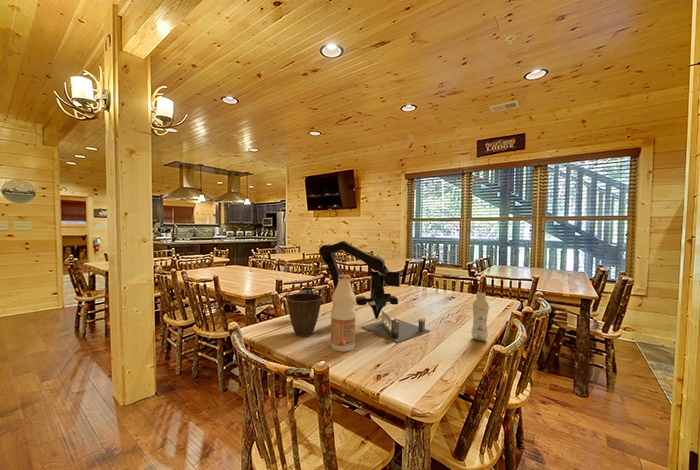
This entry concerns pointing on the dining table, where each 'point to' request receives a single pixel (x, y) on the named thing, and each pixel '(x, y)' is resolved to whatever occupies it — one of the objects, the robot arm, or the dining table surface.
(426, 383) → the dining table surface
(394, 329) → the hinge post
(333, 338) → the fruit juice
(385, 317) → the gate
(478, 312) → the plastic bottle
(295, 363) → the dining table surface
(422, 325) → the post
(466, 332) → the dining table surface
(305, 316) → the plant pot
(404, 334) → the mat
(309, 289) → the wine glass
